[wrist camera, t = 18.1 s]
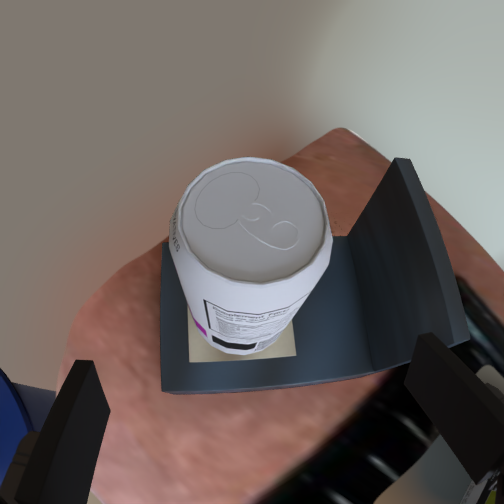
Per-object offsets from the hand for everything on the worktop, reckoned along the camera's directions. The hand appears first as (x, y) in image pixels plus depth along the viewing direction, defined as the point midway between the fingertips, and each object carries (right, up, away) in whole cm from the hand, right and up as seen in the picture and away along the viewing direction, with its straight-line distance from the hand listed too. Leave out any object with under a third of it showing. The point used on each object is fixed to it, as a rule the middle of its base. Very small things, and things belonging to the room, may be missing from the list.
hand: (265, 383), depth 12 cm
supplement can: (-2, 0, +17) cm, 17 cm away
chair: (+1, -3, +23) cm, 23 cm away
